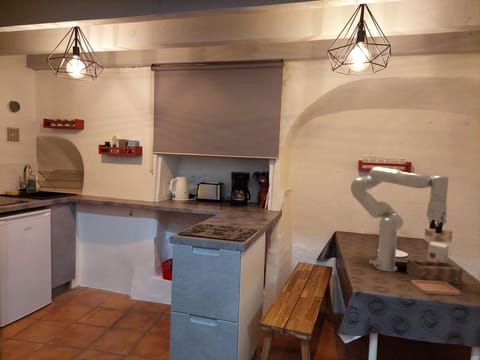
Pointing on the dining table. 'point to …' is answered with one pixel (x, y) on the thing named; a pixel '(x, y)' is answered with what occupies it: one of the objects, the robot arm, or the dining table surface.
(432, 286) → the terracotta tray
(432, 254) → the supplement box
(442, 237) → the maple block
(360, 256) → the dining table surface
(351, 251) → the dining table surface
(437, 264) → the walnut pocket jig
